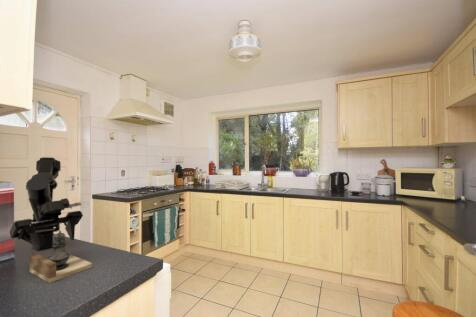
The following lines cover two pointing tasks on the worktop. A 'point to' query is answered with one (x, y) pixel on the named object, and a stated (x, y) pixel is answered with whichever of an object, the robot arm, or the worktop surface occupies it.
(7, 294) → the worktop surface
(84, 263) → the board
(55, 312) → the worktop surface
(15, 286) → the worktop surface
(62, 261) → the grey tall rounded piece
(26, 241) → the robot arm
